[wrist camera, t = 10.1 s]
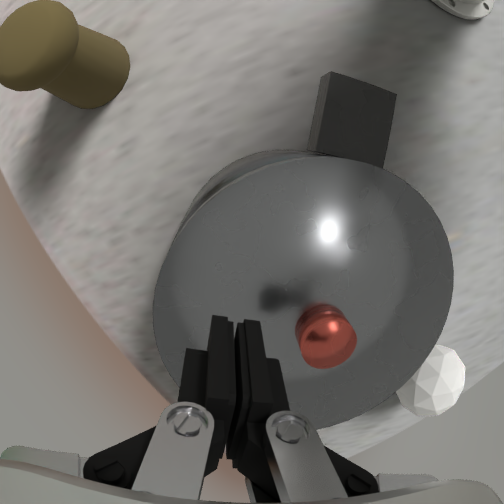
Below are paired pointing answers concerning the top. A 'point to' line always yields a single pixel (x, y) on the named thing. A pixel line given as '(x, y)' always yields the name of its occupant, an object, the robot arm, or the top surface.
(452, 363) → the geometric ball
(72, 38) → the cork
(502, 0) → the top surface
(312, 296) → the lid
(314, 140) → the pot
